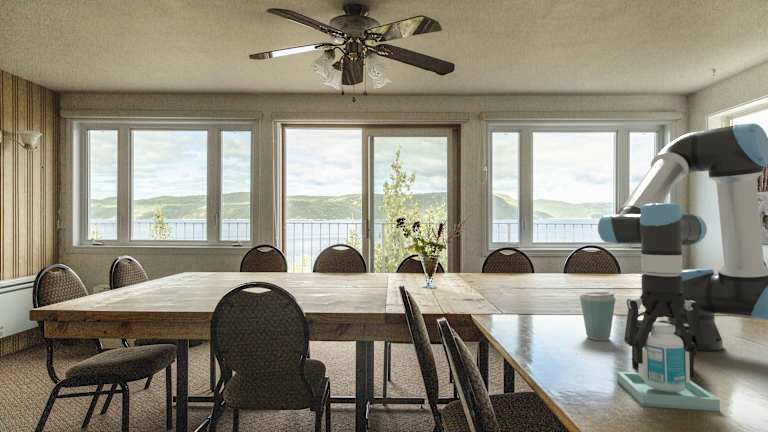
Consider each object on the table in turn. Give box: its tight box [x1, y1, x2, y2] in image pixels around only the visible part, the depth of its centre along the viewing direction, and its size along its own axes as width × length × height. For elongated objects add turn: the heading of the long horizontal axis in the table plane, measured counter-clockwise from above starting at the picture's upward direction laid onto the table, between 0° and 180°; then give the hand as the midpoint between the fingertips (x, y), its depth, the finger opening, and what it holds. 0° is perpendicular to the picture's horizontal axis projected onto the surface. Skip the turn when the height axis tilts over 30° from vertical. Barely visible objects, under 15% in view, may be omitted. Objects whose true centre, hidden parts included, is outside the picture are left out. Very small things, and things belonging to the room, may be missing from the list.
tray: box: [616, 371, 721, 412], centre depth 91 cm, size 14×14×2 cm
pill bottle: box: [643, 321, 685, 392], centre depth 92 cm, size 8×7×14 cm
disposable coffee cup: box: [579, 291, 617, 341], centre depth 138 cm, size 11×11×15 cm
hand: (663, 379), depth 92 cm, fingers closed on pill bottle, 7 cm apart
